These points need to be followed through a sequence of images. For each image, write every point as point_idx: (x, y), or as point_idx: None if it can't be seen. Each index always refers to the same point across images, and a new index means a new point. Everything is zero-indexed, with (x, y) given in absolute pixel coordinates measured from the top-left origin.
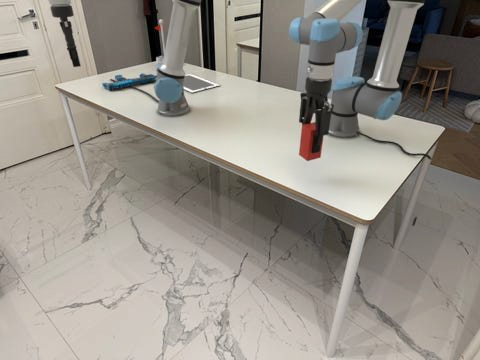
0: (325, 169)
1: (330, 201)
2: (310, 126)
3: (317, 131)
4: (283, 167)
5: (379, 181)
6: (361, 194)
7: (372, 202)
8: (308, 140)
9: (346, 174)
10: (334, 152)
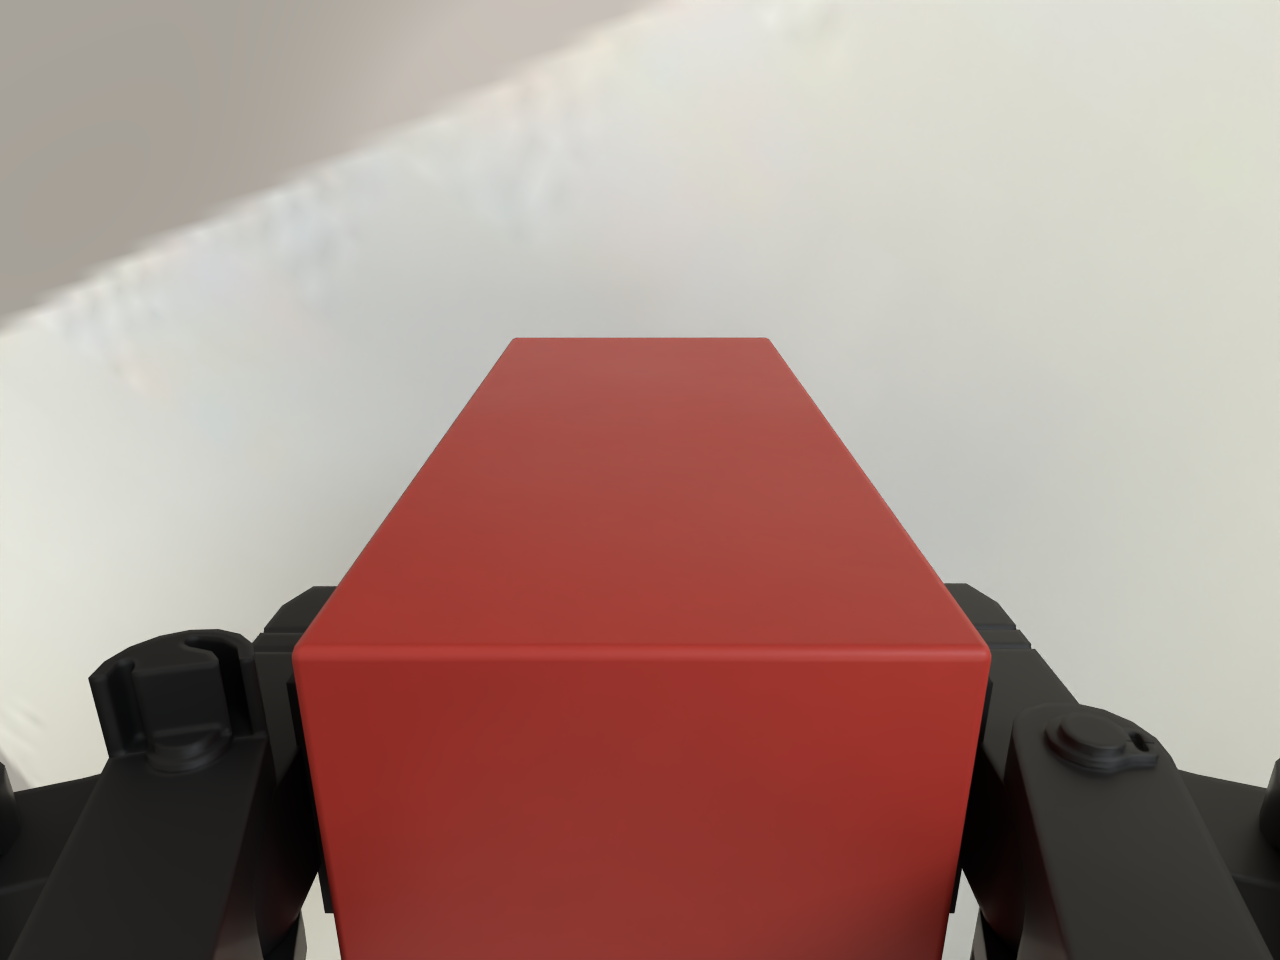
0: None
1: (129, 322)
2: (660, 847)
3: (116, 818)
4: (985, 245)
5: None
6: None
7: (14, 666)
8: (470, 467)
9: None
10: None
